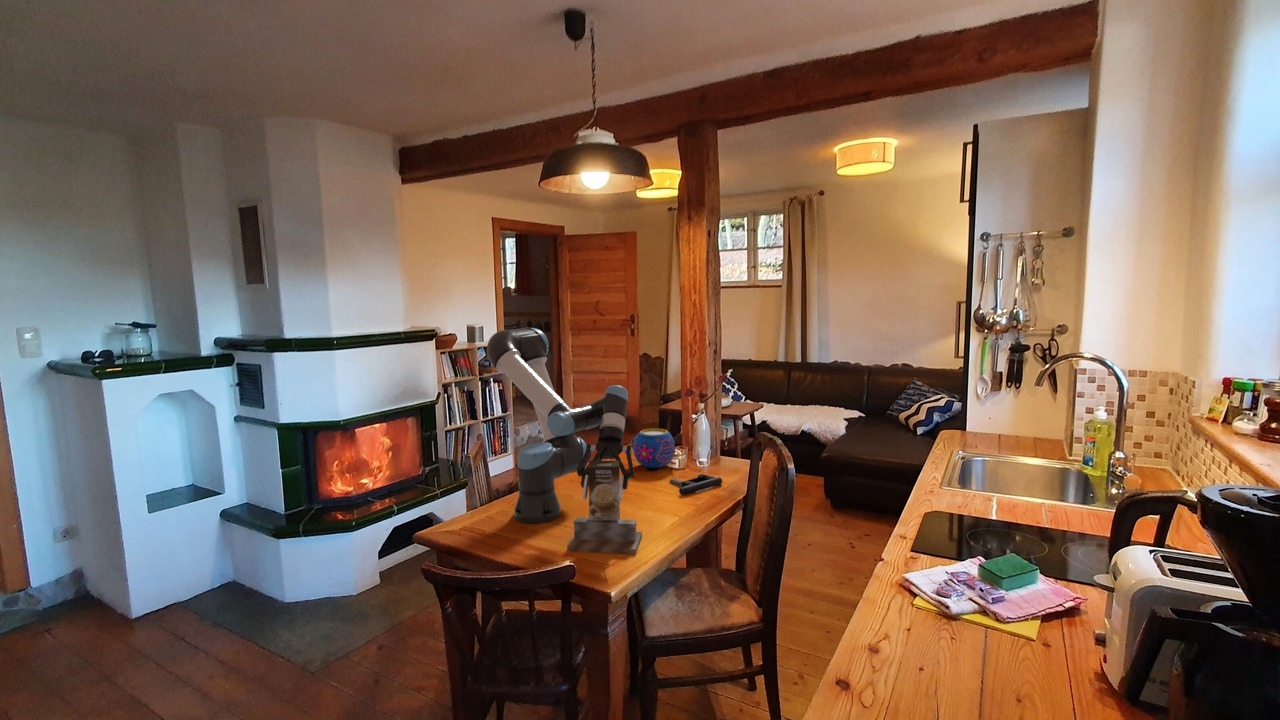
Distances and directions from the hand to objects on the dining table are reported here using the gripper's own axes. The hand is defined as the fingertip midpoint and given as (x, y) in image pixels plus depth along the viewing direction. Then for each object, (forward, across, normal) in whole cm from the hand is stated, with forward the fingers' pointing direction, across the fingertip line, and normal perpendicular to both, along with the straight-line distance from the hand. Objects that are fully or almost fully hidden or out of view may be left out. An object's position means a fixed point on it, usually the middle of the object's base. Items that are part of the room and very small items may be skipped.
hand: (602, 498), depth 171 cm
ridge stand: (+8, 0, -13) cm, 15 cm away
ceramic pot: (-44, -5, -66) cm, 80 cm away
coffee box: (+3, 0, -7) cm, 7 cm away
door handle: (-29, -22, -51) cm, 62 cm away
